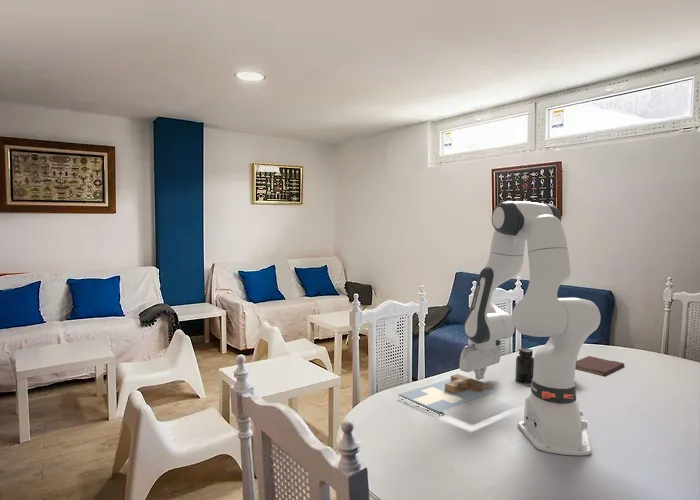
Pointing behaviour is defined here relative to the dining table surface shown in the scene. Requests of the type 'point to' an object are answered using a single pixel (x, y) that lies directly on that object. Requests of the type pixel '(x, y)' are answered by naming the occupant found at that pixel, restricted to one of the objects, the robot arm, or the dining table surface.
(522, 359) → the supplement bottle
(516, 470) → the dining table surface
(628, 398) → the dining table surface
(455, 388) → the t block
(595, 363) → the notebook
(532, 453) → the dining table surface
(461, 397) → the board
